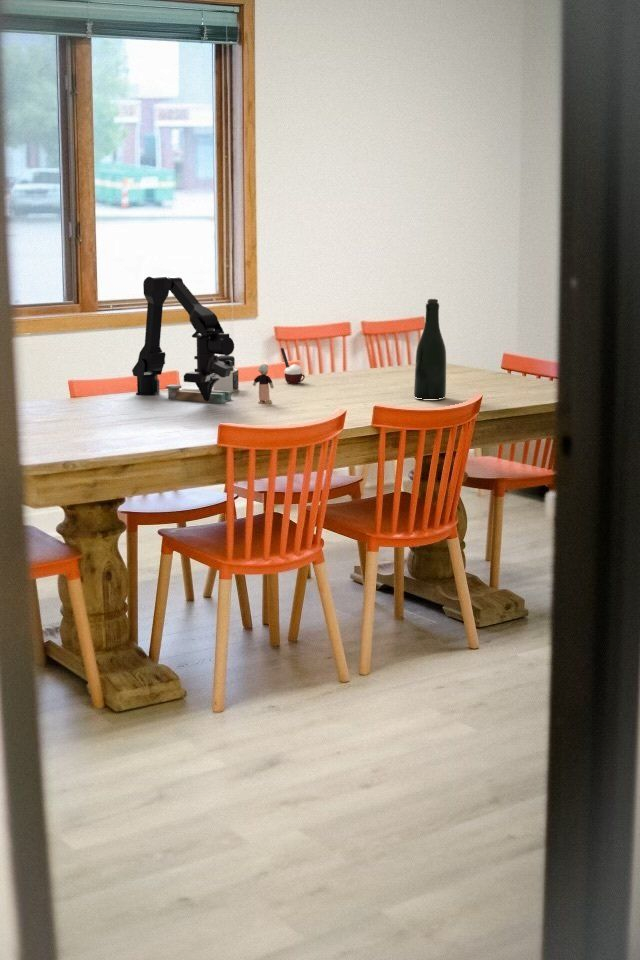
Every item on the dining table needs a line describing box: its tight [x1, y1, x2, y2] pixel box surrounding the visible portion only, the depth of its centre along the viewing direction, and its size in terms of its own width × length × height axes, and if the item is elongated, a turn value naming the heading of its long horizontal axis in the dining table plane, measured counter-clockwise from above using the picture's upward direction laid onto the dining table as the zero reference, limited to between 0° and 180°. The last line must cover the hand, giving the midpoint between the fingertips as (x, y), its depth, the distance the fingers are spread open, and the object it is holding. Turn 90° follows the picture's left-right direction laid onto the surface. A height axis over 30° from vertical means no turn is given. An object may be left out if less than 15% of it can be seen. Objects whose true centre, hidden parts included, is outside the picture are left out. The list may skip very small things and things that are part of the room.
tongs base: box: [165, 384, 232, 402], centre depth 402 cm, size 22×6×4 cm, turn 74°
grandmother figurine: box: [252, 363, 274, 405], centre depth 395 cm, size 8×4×13 cm, turn 71°
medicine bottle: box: [212, 354, 239, 394], centre depth 418 cm, size 7×7×12 cm
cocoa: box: [280, 347, 306, 385], centre depth 434 cm, size 10×6×12 cm, turn 38°
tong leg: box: [176, 389, 226, 404], centre depth 399 cm, size 16×2×3 cm, turn 69°
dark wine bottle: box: [413, 298, 447, 399], centre depth 403 cm, size 10×10×33 cm
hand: (206, 400), depth 393 cm, fingers closed
